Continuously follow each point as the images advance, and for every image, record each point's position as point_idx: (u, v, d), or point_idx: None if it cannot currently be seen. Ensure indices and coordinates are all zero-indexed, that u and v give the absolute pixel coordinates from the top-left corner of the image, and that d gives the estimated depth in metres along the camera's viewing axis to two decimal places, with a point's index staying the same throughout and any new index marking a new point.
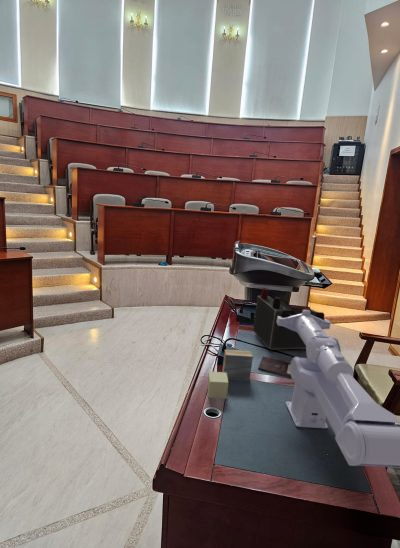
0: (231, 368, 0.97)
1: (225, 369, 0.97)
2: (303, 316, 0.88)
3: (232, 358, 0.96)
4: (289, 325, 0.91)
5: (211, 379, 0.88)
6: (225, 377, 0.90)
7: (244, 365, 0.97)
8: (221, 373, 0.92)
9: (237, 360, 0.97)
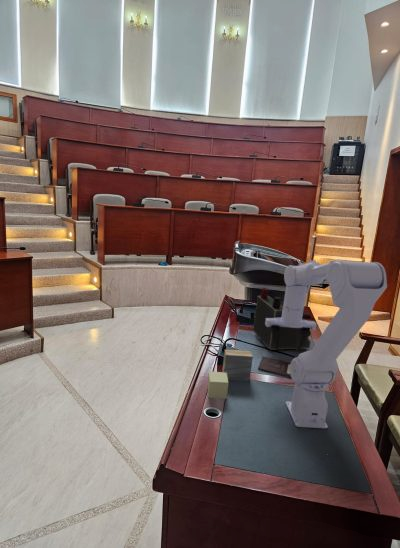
0: (231, 368, 0.97)
1: (225, 369, 0.97)
2: None
3: (232, 358, 0.96)
4: None
5: (211, 379, 0.88)
6: (225, 377, 0.90)
7: (244, 365, 0.97)
8: (221, 373, 0.92)
9: (237, 360, 0.97)
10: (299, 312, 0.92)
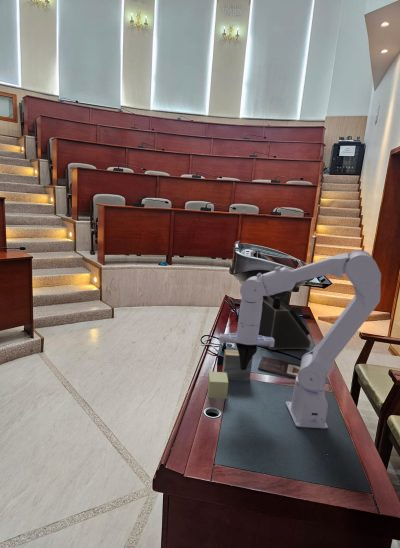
0: (231, 368, 0.97)
1: (225, 369, 0.97)
2: None
3: (232, 358, 0.96)
4: (232, 339, 0.86)
5: (211, 379, 0.88)
6: (225, 377, 0.90)
7: None
8: (221, 373, 0.92)
9: (237, 360, 0.97)
10: (254, 328, 0.84)
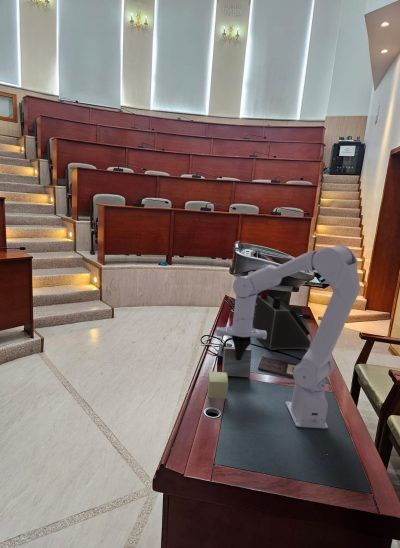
0: (231, 363, 0.98)
1: (225, 364, 0.98)
2: None
3: (231, 352, 0.99)
4: (228, 332, 0.95)
5: (211, 379, 0.88)
6: (225, 377, 0.90)
7: (243, 359, 0.99)
8: (221, 373, 0.92)
9: None
10: (248, 321, 0.92)
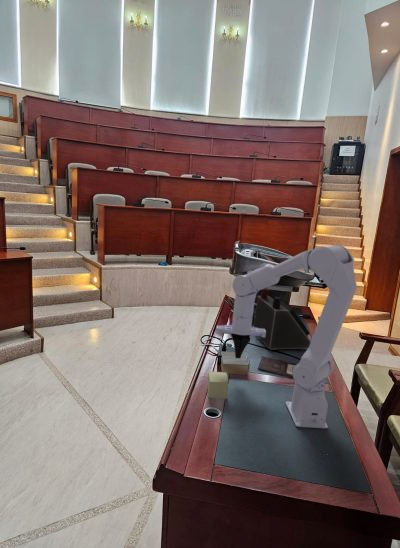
0: (228, 358, 1.04)
1: (223, 358, 1.04)
2: None
3: (227, 353, 1.08)
4: (228, 330, 0.96)
5: (211, 379, 0.88)
6: (225, 377, 0.90)
7: None
8: (221, 373, 0.92)
9: (232, 354, 1.07)
10: (247, 320, 0.93)
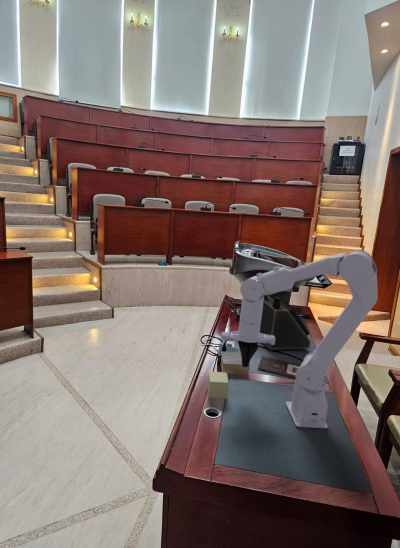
0: (228, 358, 1.04)
1: (223, 358, 1.04)
2: None
3: (227, 353, 1.08)
4: (234, 337, 0.89)
5: (211, 379, 0.88)
6: (225, 377, 0.90)
7: (239, 356, 1.06)
8: (221, 373, 0.92)
9: (231, 354, 1.07)
10: (255, 326, 0.86)
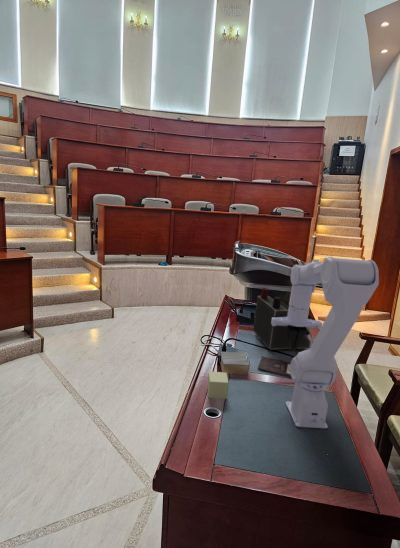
0: (228, 358, 1.04)
1: (223, 358, 1.04)
2: None
3: (226, 353, 1.08)
4: None
5: (211, 379, 0.88)
6: (225, 377, 0.90)
7: (239, 356, 1.06)
8: (221, 373, 0.92)
9: (231, 354, 1.07)
10: (305, 311, 0.93)
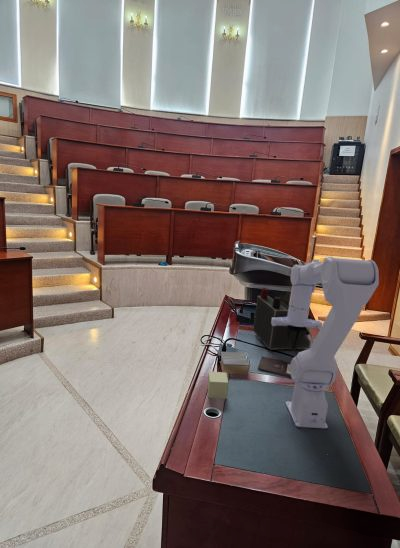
0: (228, 358, 1.04)
1: (223, 358, 1.04)
2: None
3: (226, 353, 1.08)
4: None
5: (211, 379, 0.88)
6: (225, 377, 0.90)
7: (239, 356, 1.06)
8: (221, 373, 0.92)
9: (231, 354, 1.07)
10: (305, 311, 0.93)
